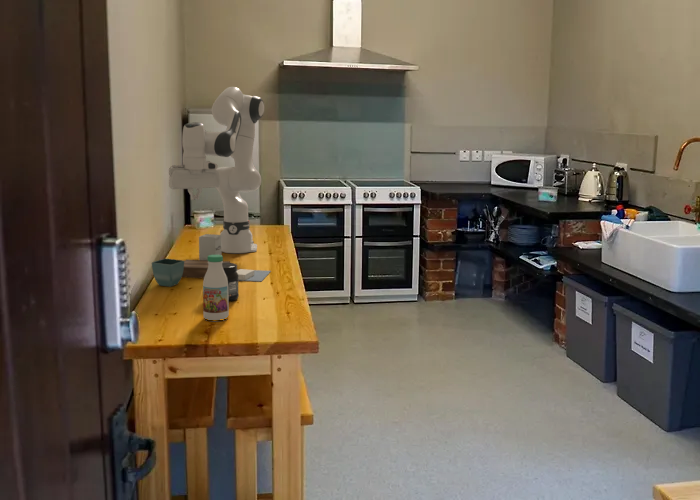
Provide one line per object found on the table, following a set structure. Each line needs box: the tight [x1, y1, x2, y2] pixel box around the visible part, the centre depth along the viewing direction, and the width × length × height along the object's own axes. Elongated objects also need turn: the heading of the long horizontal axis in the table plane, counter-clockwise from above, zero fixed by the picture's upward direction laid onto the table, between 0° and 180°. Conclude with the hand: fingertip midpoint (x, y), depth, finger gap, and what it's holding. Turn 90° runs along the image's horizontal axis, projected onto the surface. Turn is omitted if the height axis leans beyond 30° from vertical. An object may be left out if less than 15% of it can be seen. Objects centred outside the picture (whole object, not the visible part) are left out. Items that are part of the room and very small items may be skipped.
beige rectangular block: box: [236, 268, 255, 280], centre depth 268 cm, size 9×6×2 cm, turn 164°
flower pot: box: [151, 258, 185, 287], centre depth 253 cm, size 9×9×9 cm
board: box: [181, 259, 231, 279], centre depth 272 cm, size 14×18×4 cm
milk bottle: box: [202, 254, 230, 320], centre depth 211 cm, size 8×8×20 cm
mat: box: [237, 268, 272, 283], centre depth 271 cm, size 18×15×1 cm
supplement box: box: [198, 233, 222, 260], centre depth 288 cm, size 7×7×13 cm
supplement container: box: [222, 262, 239, 302], centre depth 235 cm, size 10×10×12 cm
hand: (195, 199), depth 272 cm, fingers closed
